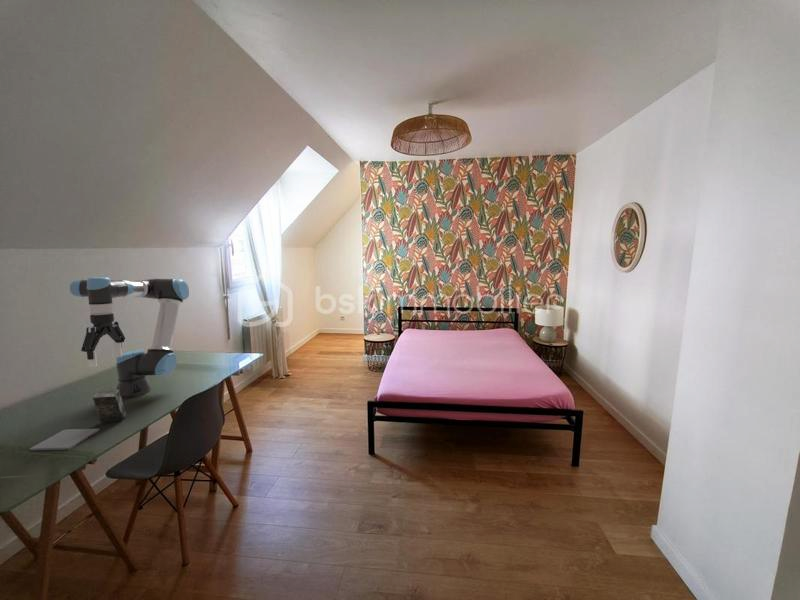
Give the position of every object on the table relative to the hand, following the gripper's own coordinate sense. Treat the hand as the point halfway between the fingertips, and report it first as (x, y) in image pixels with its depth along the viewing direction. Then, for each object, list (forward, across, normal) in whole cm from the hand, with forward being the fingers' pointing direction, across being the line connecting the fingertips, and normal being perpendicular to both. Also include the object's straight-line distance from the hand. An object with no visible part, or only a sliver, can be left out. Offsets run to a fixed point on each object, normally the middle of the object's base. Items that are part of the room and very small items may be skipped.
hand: (106, 361), depth 143 cm
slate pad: (+28, +14, -7) cm, 32 cm away
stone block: (+28, 0, 0) cm, 28 cm away
